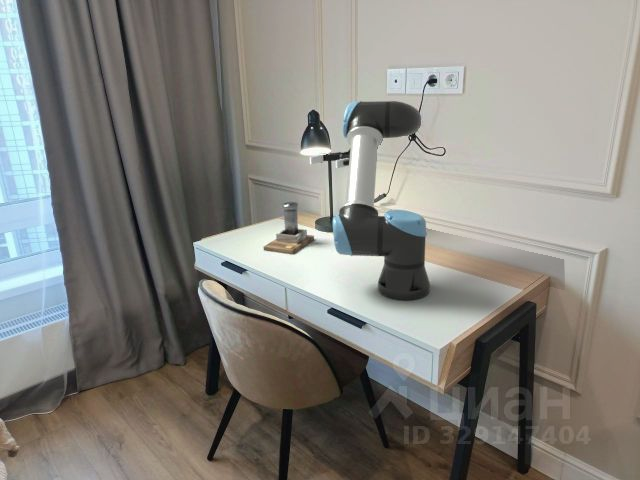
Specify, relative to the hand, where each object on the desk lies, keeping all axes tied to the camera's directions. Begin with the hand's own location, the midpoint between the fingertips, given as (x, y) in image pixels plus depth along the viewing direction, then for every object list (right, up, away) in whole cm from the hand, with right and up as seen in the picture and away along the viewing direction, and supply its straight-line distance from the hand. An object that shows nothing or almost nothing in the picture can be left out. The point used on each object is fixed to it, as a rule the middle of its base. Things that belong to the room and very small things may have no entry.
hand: (323, 162), depth 179 cm
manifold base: (-13, -31, +4) cm, 33 cm away
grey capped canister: (-12, -28, +6) cm, 31 cm away
